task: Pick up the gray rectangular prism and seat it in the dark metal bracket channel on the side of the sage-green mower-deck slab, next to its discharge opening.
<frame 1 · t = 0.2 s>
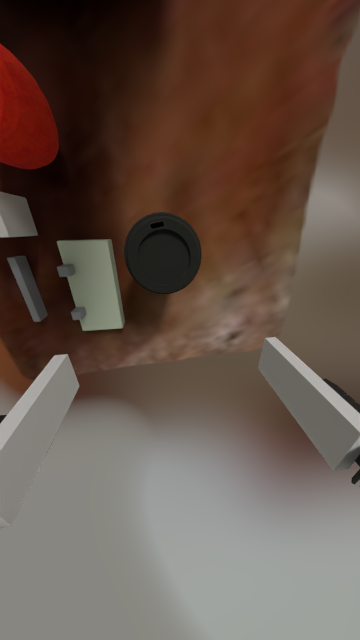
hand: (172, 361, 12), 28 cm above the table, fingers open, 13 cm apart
deck: (88, 285, 36), on the table
coffee cup: (160, 247, 35), on the table
apple: (38, 138, 26), on the table
gray rectangular prism: (14, 217, 30), on the table
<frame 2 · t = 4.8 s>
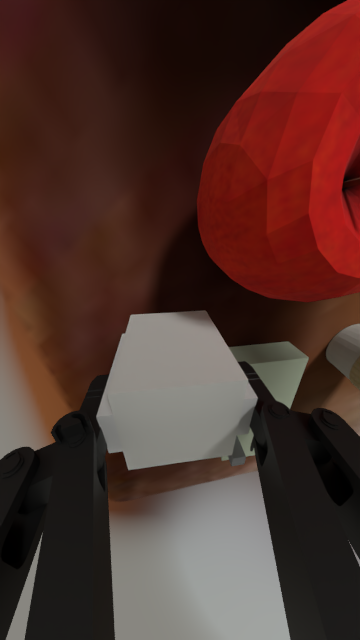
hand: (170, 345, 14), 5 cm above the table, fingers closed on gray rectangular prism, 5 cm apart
deck: (232, 397, 25), on the table
coffee cup: (346, 344, 24), on the table
apple: (238, 212, 15), on the table
gray rectangular prism: (170, 343, 14), point 4 cm above the table, touching gripper
when the fingers open (0 cm above the table, at t = 8.4 s): gray rectangular prism stays where it is, on the table.
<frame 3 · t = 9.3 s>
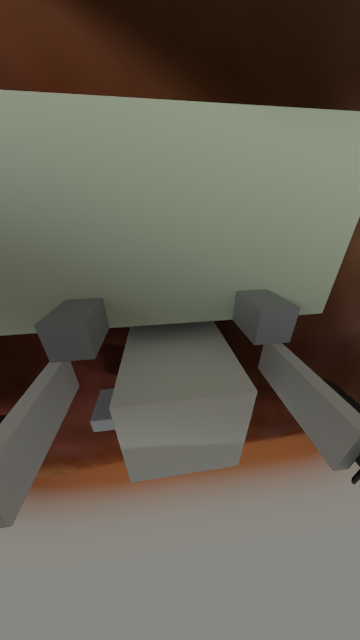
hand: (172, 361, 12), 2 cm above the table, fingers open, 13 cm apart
deck: (167, 271, 11), on the table
gray rectangular prism: (172, 348, 14), on the table
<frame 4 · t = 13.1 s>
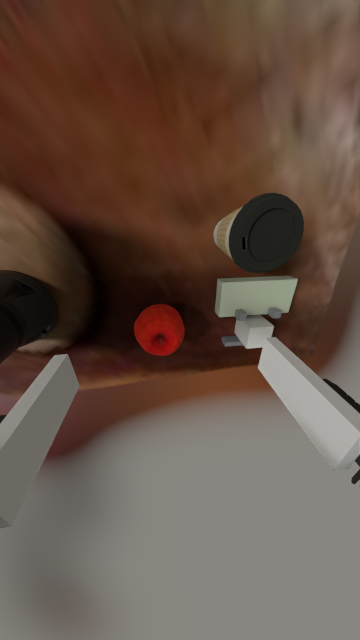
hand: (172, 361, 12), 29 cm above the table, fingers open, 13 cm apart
deck: (249, 301, 43), on the table
coffee cup: (228, 233, 36), on the table
apple: (159, 314, 42), on the table
gray rectangular prism: (245, 323, 46), on the table
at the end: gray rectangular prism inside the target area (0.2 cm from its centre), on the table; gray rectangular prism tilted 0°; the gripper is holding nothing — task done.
